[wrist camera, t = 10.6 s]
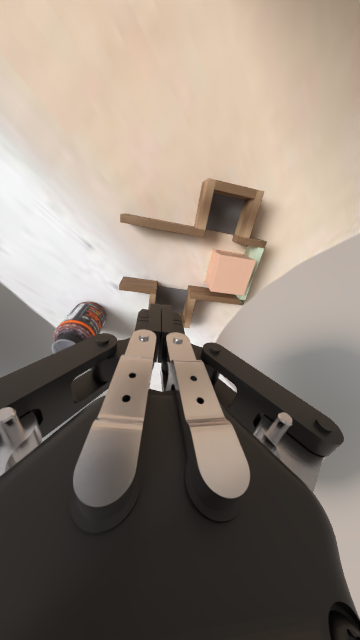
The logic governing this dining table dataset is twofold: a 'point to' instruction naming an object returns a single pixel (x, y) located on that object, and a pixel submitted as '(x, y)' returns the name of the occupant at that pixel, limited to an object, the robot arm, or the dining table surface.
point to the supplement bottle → (79, 326)
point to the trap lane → (213, 214)
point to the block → (229, 272)
